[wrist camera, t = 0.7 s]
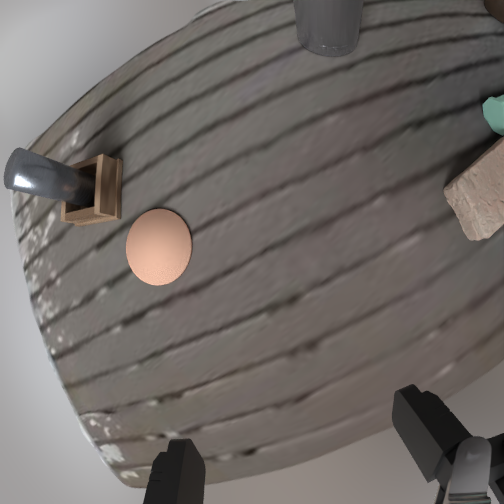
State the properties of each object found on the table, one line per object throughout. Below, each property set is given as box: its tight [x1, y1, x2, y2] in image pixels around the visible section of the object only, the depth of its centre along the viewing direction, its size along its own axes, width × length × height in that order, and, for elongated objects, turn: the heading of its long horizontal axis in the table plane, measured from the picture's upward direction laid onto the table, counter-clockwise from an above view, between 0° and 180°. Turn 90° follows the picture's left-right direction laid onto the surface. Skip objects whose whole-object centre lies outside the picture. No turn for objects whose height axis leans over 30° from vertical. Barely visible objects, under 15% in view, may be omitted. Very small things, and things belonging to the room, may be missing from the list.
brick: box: [444, 137, 504, 240], centre depth 26 cm, size 17×8×5 cm, turn 123°
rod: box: [4, 148, 96, 208], centre depth 30 cm, size 5×5×16 cm
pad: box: [126, 209, 192, 285], centre depth 36 cm, size 10×10×1 cm
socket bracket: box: [61, 154, 123, 226], centre depth 37 cm, size 9×9×4 cm
